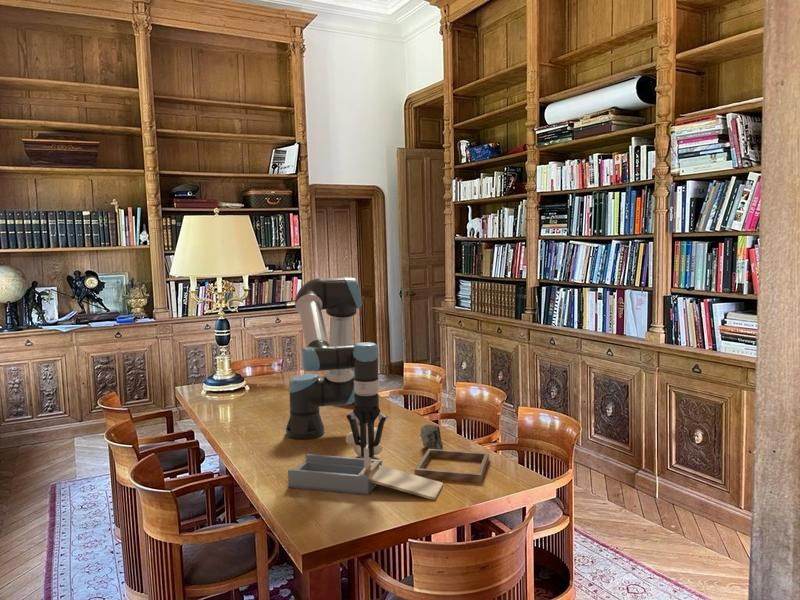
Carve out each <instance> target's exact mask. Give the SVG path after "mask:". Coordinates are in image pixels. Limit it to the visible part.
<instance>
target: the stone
mask: <svg viewBox="0 0 800 600" xmlns="http://www.w3.org/2000/svg"><path fill="white" fill-rule="evenodd" d="M420 438H421V441H422V445H423V447H424V448H426V449H427V450H428V449H439V450H444V447H443V446H444V445H443V442H442V437H441V429H440V427H439V425H434V424H425V425H423V426H421V427H420Z"/></svg>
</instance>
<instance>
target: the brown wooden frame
mask: <svg viewBox="0 0 800 600" xmlns="http://www.w3.org/2000/svg"><path fill="white" fill-rule="evenodd" d="M431 458H440V459H453V460H464V461H465V460H466V461H474V462H475V461H477V462H481V464H480V465H479V468H478V471H477V472H467V471H466V472H465V471H454V470H442V469H430V468H425V467H426V466H427V464H428V463H429V461H430V460H431ZM489 461H490V453H487V452H477V451H462V450H461V451H460V450H450V449H442V450H439V449H428V448H427V450H426V451H425V453H424V454H423V456H422V457H421V459H420V461H419V462H418V463H417V465H416V467H415V469H414V475H417V476H420V477H424V478H428V479H432V480H435V479H436V480H444V481H445V480H446V481H456V482H457V481H458V482H466V483H468V482H470V483H480V484H481V483H482V481H483V478H484V475H485V472H486V469H487V467H488V464H489ZM427 462H428V463H427Z"/></svg>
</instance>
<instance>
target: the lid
mask: <svg viewBox="0 0 800 600" xmlns="http://www.w3.org/2000/svg"><path fill="white" fill-rule="evenodd" d="M379 463H380V462H378V461H374V462H373V463H371V466H370V467H369V468H368V469H363V470H362V471H361V472H360V473H359V474H358V475H365V476H369V482H372V483H376V485H380V486H384V487H387V488H391V489H393V490H397V491H401V492H405V493H408V494H412V495H415V496H419V497H422V498H425V499H429V500H431V501H432V500H433V501H436V500H437V497H438V496H439V493H440V491H441V489H442V487H443V485H444V482H441V481H439V480H435V479H432V478H424V477H420V476H417V475H415V474H413V473H409V472H405V471H401V470H398V469H395V468H391V467H387V466H385V465H382V466H381V465H379Z"/></svg>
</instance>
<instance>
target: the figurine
mask: <svg viewBox="0 0 800 600" xmlns="http://www.w3.org/2000/svg"><path fill="white" fill-rule="evenodd" d="M354 408H355V406H354V407H353V409H354ZM355 419H356V423H357V427H358V431H359V435H360V425H359V420H358V419H357V417H356V416H355ZM375 421H376V420H375ZM375 421H374V423H375ZM377 428H378V427H375V426H374V441H375V437H376V432H377ZM345 442H346V443H347V444H350V446H351V447H352V449H353V451H354V453H355V454H356V455H357V456H358V458H364V457H362V456H361V447H360V446H359V445H356V444H355V442H354V438H353V434H352V431H350V432H348V433H347V435H346V437H345ZM366 442H367V444H366V445H368V426H367V423H366ZM382 451H383V445H382V444H381V442H380V443H379V445H378V446H376V447H374V456H376V455H377V456H378V455H380V453H381V452H382Z"/></svg>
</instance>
